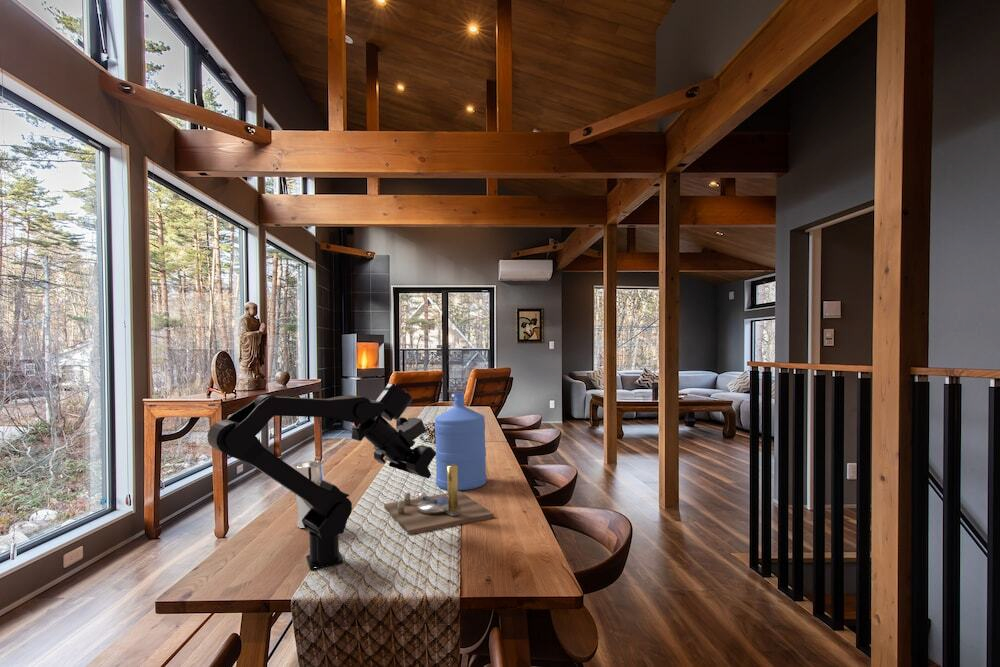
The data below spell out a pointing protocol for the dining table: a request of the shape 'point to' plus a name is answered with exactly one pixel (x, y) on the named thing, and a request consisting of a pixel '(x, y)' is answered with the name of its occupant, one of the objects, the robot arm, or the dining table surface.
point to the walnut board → (422, 522)
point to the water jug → (461, 445)
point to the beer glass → (315, 474)
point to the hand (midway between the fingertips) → (425, 475)
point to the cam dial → (442, 504)
